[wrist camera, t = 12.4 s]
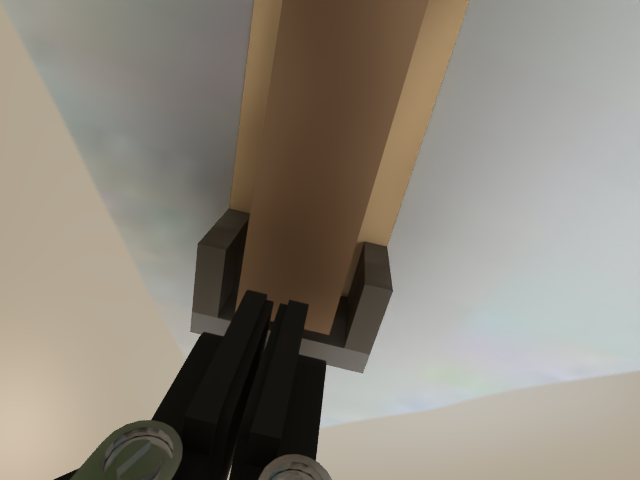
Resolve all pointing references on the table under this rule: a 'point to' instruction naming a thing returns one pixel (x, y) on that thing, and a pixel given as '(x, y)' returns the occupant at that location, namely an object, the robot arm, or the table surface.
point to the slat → (323, 145)
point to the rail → (387, 194)
